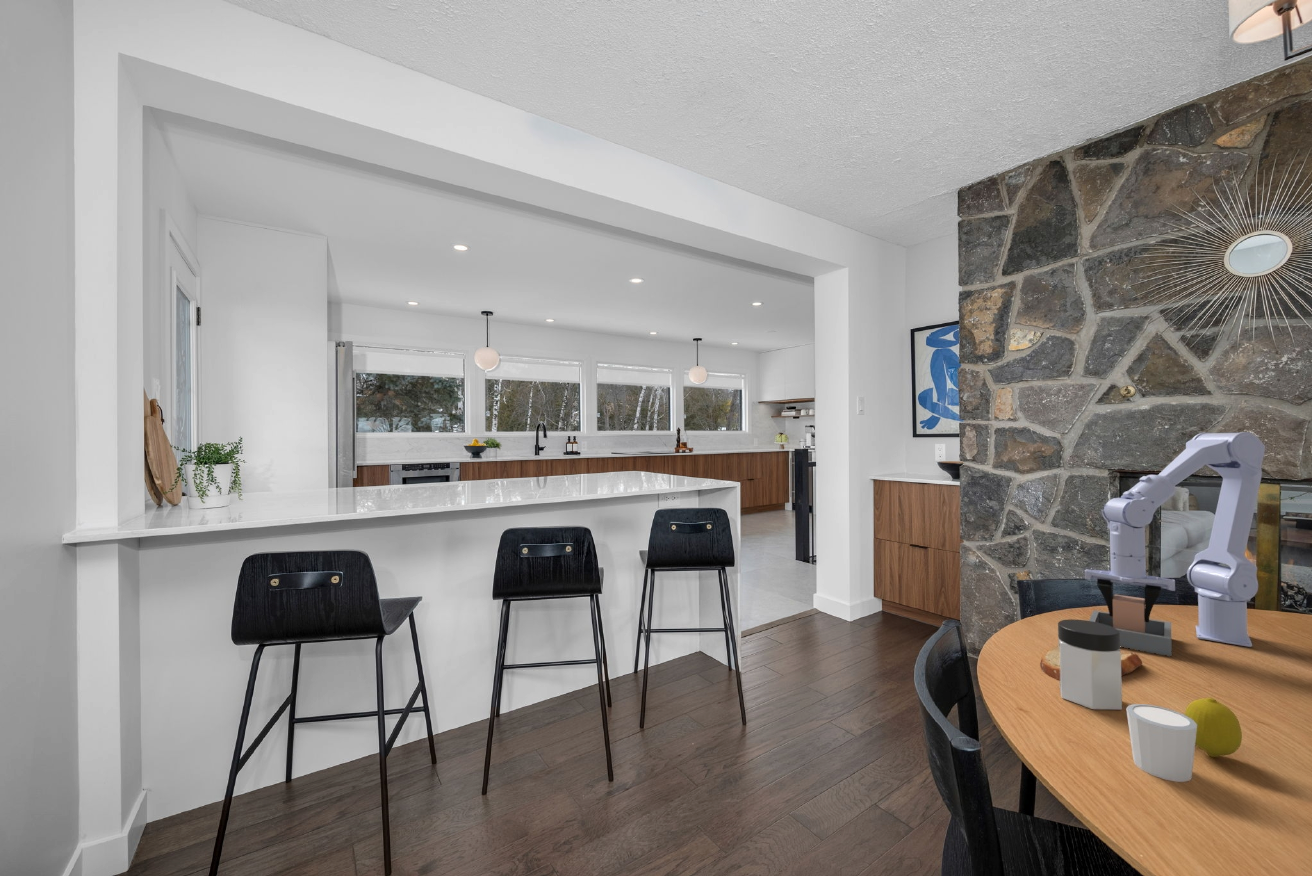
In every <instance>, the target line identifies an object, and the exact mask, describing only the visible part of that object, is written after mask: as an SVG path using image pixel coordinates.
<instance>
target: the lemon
mask: <svg viewBox="0 0 1312 876" xmlns="http://www.w3.org/2000/svg"><path fill="white" fill-rule="evenodd" d="M1184 715H1186V716H1187V717H1189V718H1191V719H1192V720H1194V722H1195V723H1196V724H1197V731H1196V741H1195V747H1196V746H1197V748H1199V749H1200V750H1202V751H1204V752H1206V754H1207V755H1209V756H1210V757H1212V758H1218V757H1220V756H1229V755H1232V754H1233V753H1236V752H1237V750H1239V748H1240V747H1241V744H1242V740H1243V739H1242V738H1243V736H1242V735H1243V734H1242V733H1243V732H1242V728H1241V724H1240V721H1239V719H1238V717H1237V716H1236V714H1235V713H1234V712H1233V711H1232V710H1231V708H1229V707H1228V706H1227V705H1226V704H1223V703H1222V702H1220V701H1217V699H1215V698H1214V697H1206V698H1199V699H1195V700H1193V701H1191V702H1190V703H1188V705H1187V707H1186V709H1185V711H1184Z"/></svg>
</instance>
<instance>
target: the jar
mask: <svg viewBox="0 0 1312 876" xmlns="http://www.w3.org/2000/svg"><path fill="white" fill-rule="evenodd" d="M1057 636H1058V637H1057V638H1058V645H1059V675H1060V681H1059V691H1060V696H1061V698H1062V699H1063V700H1066V701H1068V702H1072V703H1075V704H1077V705H1080V706H1083V707H1085V708H1087V709H1090V710H1107V711H1109V710H1111V711H1113V710H1114V711H1116V710H1117V711H1118V710H1119V711H1120V710H1123V694H1122V693H1123V691H1122V690H1123V689H1122V686H1123V684H1122V676H1121V654H1122V653H1121V650H1120V649H1121V647H1120V633H1119V631H1118V630H1117V629H1115V628H1113V627H1111V626H1108V625H1105V624H1101V623H1097V622H1092V621H1089V620H1085V619H1084V620H1083V619H1071V618H1070V619H1062V620H1060V621H1058V623H1057Z"/></svg>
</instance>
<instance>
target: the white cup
mask: <svg viewBox="0 0 1312 876" xmlns="http://www.w3.org/2000/svg"><path fill="white" fill-rule="evenodd" d="M1125 710H1126V717H1127V723H1128V730H1129V738H1130V743H1131V744H1130V746H1131V752H1132V759H1133V763H1134V764H1135V766H1136V767H1137V768H1139V769H1140V770H1141V771H1143V772H1145V773H1147V774H1149V775H1151V776H1154V777H1157V778H1159V779H1162V780H1166V781H1172V782H1179V783H1183V782H1184V783H1185V782H1188V781H1189V782H1190V781H1191V780H1192V778H1193V769H1194V757H1195V748H1196V745H1195V741H1196V731H1197V724H1196V723H1195V722H1194V720H1192V719H1191V718H1189V717H1187V716H1186V715H1184V714H1185V713H1184V714H1183V713H1181V712H1178V711H1175V710H1173V709H1169V708H1167V707H1162V706H1158V705H1152V704H1146V703H1133V704H1129V705H1128V706H1127V707H1126V709H1125Z"/></svg>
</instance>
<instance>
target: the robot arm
mask: <svg viewBox="0 0 1312 876" xmlns="http://www.w3.org/2000/svg"><path fill="white" fill-rule="evenodd" d="M1265 451H1266V445H1265V444H1264V443H1263V442H1262V441H1261V439H1260V438H1259V437H1258V436H1257V435H1256V434H1254V433H1252V432H1249V431H1240V432H1220V433H1219V432H1216V433H1214V432H1213V433H1212V432H1200V433H1198V434H1196V435H1195V436H1193V437H1192V438H1191V439H1190V440H1188V441H1186V443H1185V449H1183V451H1182V452H1181V453H1179V455H1178V456H1176V457H1175V458H1174V459H1173V460H1172V461H1171V462H1170V463H1169V464H1168V465H1167V466H1166V467H1164V469H1162V470H1161V472H1159V474H1148V475H1146V476H1145V475H1143V476H1142V477H1140V478H1139V479H1138V480H1139V482H1137V483H1135V485H1134V486H1133V487H1131V488H1129V490H1127V491H1126V490H1125V491H1124V492H1123V493H1122V495H1121V496H1120V497H1114V498H1111V499H1110V500H1108V501H1107V502H1106V503H1105V504H1104V507H1103V509H1101V515H1102V517H1103V518H1104V520H1105V521H1106V523H1107V529H1108V530H1109V549H1110V550H1109V551H1110V552H1109V553H1110V554H1109V557H1110V570H1097V569H1087V568H1086V569H1085V570H1084V579H1085V580H1089V581H1092V580H1093V581H1096V586H1097V587H1098V590H1099V591H1100V593H1101V595H1102V596H1103V599H1104V600H1105V601H1104V602H1105V603H1106V606H1107V609H1108V613H1109V615H1110V616H1113V597H1114V583H1116V584H1124V585H1133V586H1139V587H1144V599H1145V615H1144V619H1145V622H1149V619H1150V616H1151V614H1152V613H1151V612H1152V610H1153V607H1154V605H1155V603H1156V601H1157V599H1158V598H1159V597H1160V595H1161V594H1162V593H1161V592H1162V589H1165V590H1167V591H1172V592H1173V591H1174V592H1175V591H1176V580H1175V579H1173V578H1171V579H1170V578H1165V577H1159V576H1153V575H1147V570H1146V569H1147V568H1146V565H1147V564H1146V563H1147V561H1146V526H1148V525H1149V524H1151V523H1152V521H1153V520H1154V519H1153V518H1154V514H1155V513H1156V511H1157V509H1158V508H1159V507H1161V506H1162V505H1164V503H1165V502H1167V501H1168V500H1170V498H1172V497H1173V496H1174V495H1175V494H1176V485H1178V484H1180V483H1181V482H1183V480H1185V479H1187V478H1188V477H1190V476H1191V475H1193V474H1194V473H1195V472H1197V471H1198V470H1200V469H1202V468H1203V467H1204V466H1207V467H1208V468H1209V469H1211V470H1213V471H1214V472H1217V473H1218V474H1219V476H1221V477H1222V481H1221V487H1220V492H1219V496H1218V502H1217V505H1216V510H1215V515H1214V520H1213V524H1212V529H1211V533H1210V539H1209V542H1208V547H1207V548H1206V549H1203V550H1202V551H1199V552H1198V553H1196V554H1195V555H1194V558H1193V562H1192V563H1191V564H1190V566H1188V568H1187V571H1186V577H1187V582H1188V583H1189V585H1191V586H1192V587H1194V592H1195V593H1197V602H1198V604H1197V605H1198V606H1197V607H1198V611H1197V612H1198V625H1195V634H1196V638H1197V639H1200V640H1206V641H1213V642H1218V643H1224V644H1225V643H1226V644H1230V645H1234V646H1235V645H1237V646H1242V647H1247V648H1252V647H1253V644H1252V641H1251V638H1250V636H1249V633H1248V608H1247V607H1248V606H1247V602H1251V599H1253V597H1254V596H1255V595H1257V593H1258V590H1259V581H1258V577H1257V574H1258V573H1257V572H1258V567H1257V566H1256V565H1255V563H1253V561H1251V560H1250V559H1248V557H1247V556H1246V551H1247V545H1248V540H1249V536H1250V532H1251V529H1252V523H1253V522H1252V521H1253V517H1254V514H1255V508H1256V504H1257V500H1258V495H1259V490H1260V486H1261V482H1262V481H1261V480H1262V475H1263V473H1262V472H1263V471H1262V467H1263V466H1262V465H1263V460H1264V457H1265ZM1221 564H1224V565H1227V566H1224V565H1221Z"/></svg>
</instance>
